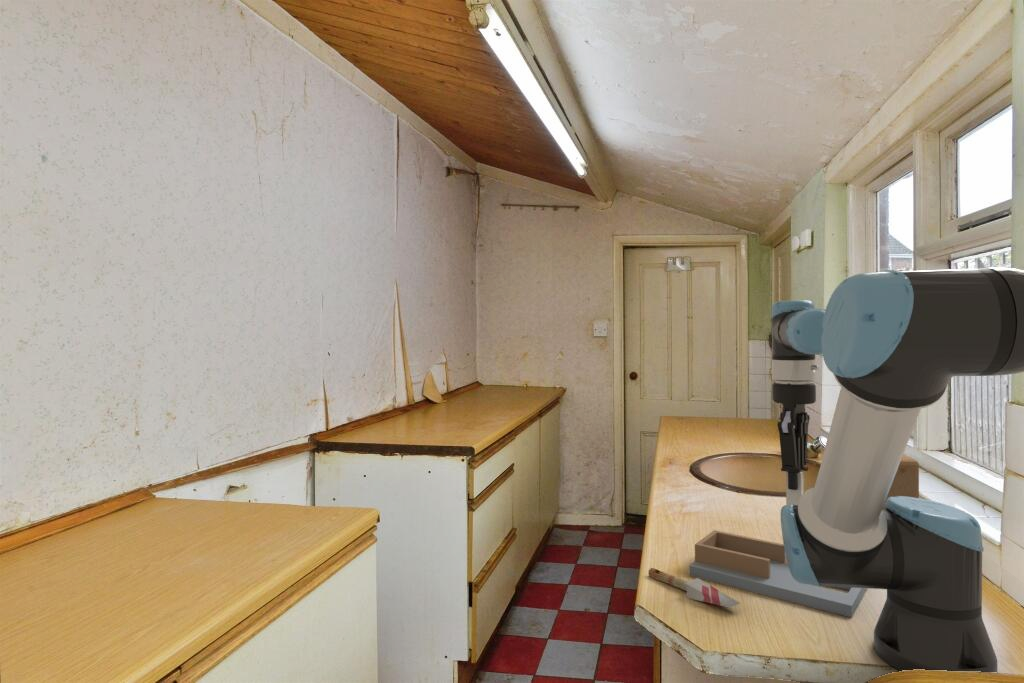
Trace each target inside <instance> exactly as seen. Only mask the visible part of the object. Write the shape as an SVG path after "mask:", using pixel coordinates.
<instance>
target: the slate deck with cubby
mask: <svg viewBox="0 0 1024 683" xmlns="http://www.w3.org/2000/svg"><path fill="white" fill-rule="evenodd" d="M689 576H691V577H695V578H699V579H701V580H702V579H703V580H707V581H709V582H714V583H717V584H722V585H725V586H729V587H730V586H731V587H733V588H737V589H741V590H746V591H748V592H753V593H757V594H761V595H764V596H768V597H771V598H775V599H778V600H779V599H780V600H784V601H788V602H790V603H795V604H798V605H803V606H807V607H809V608H814V609H818V610H822V611H825V612H830V613H832V614H837V615H841V616H846V617H848V618H853V616H854V615H855V612H856V611H857V609H858V607H859V605H860V604H861V602H862V600H863V598H864V596H865V594H866V592H867V590H868V588H851V587H836V588H837V589H842V590H846V591H848V592H847V593H846V592H842V591H838V590H834V589H830V588H826V587H823V586H822V587H819V586H817V585H810V584H802V583H799V582H797V581H796V580H795V579H794V578H793V577H792V575H791V573H790V570H789V567H788V563H787V559H786V554H785V549H784V543H779V542H774V541H769V540H765V539H759V538H756V537H755V538H754V537H751V536H750V537H749V536H744V535H739V534H735V533H732V532H731V533H729V532H726V531H725V532H724V531H720V530H716V529H715V530H713V531H711V532H710V533H709V534H707V535H705V536H704V537H703V538H702V539H700V540H699V541H698V542H696V543H694V561H693V562H692V563H691V564H690V565H689Z"/></svg>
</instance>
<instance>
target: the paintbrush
mask: <svg viewBox="0 0 1024 683" xmlns="http://www.w3.org/2000/svg"><path fill="white" fill-rule="evenodd" d="M647 574H648V577H651V578H653V579H657V580H658V581H660V582H663V583H665V584H668V585H670V586H673V587H675V588H679V589H681V590H683V591H686V594H685V598H688V599H690V600H695V601H698V602H699V601H700V602H704V603H706V604H707V603H709V604H711V605H717V606H720V607H721V606H722V607H725V608H726V607H727V608H733V607H736V606H738V605H740V604H741V602H739V601H738V600H736V599H735V598H733V597H731V596H729V594H726V593H724V592H722V591H721V590H719V589H717V588H716V587H715V586H712V585H710V584H709V583H708V582H706V581H705V580H702V578H698V577H695V579H694V578H693V579H691V580H690V581H688V580H686V579H684V578H680V577H678V576H675V575H672V574H670V573H668V572H664V571H661V570H659V569H656V568H655V567H650V568H649V569H648V573H647Z"/></svg>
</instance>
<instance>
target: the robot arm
mask: <svg viewBox="0 0 1024 683" xmlns="http://www.w3.org/2000/svg"><path fill="white" fill-rule="evenodd" d="M770 323H771V379H772V381H775V382H773V383H772V385H771V388H772V389H771V392H772V393H771V394H772V395H771V396H772V397H771V398H772V401H773V402H774V403H777V404H782V410H781V412H780V416H779V417H780V418H779V419H780V421H777V424H776V426H777V429H778V433H779V436H778V437H779V445H780V455H781V456H780V457H781V467H780V471H781V472H785V486H786V487H785V496H786V497H785V498H786V499H785V500H786V503H785V504H786V505H783V506H782V507H781V509H780V527H781V535H782V537H781V538H782V542H783V543H782V544H784V549H785V554H786V559H787V563H788V567H789V570H790V573H791V575H792V577H793V578H794V579H795V580H796V581H797V582H799V583H802V584H810V585H815V586H818V587H822V588H823V587H832V588H837V587H851V588H867V589H876V590H886V600H885V602H884V604H883V606H882V610H881V612H880V615H879V617H878V620H877V622H876V624H875V626H874V630H873V648H874V651H875V653H876V654H877V655H878V657H880V658H881V659H882V660H883V661H884V662H886V664H888V665H889V666H890V667H893V668H894V669H896V670H898V671H900V672H902V670H913V669H925V670H947V671H981V672H997V673H998V657H997V655H996V653H995V649H994V647H993V643H992V642H991V639H990V637H989V634H988V631H987V628H986V626H985V623H984V620H983V613H982V610H983V606H982V604H983V552H984V549H985V548H984V546H983V539H982V538H983V537H982V529H981V525H980V523H979V522H978V520H977V519H976V518H975V517H974V516H973V515H972V514H970V513H968V512H966V511H964V510H962V509H959V508H956V507H955V506H951V505H948V504H946V503H941V502H938V501H934V500H930V499H925V498H920V497H919V498H914V497H906V496H895V497H889V498H888V499H887V501H886V503H885V500H886V498H887V495H888V492H889V490H890V487H891V485H892V482H893V480H894V477H895V474H896V472H897V469H898V467H899V464H900V461H901V459H902V456H903V454H904V453H905V451H906V449H907V446H908V443H909V441H910V438H911V435H912V434H913V431H914V428H915V425H916V422H917V420H918V417H919V414H920V412H921V410H922V409H925V408H928V407H930V406H933V405H934V404H935V403H938V401H940V400H941V398H942V397H943V396H944V394H945V393H946V390H947V387H948V385H949V383H950V380H951V379H952V378H953V377H987V376H992V377H993V376H995V377H996V376H1006V375H1014V374H1020V373H1024V270H1022V269H1018V268H1012V267H1011V268H1010V267H1009V268H1008V267H995V266H994V267H983V268H958V269H956V268H955V269H934V270H933V269H932V270H907V271H905V270H904V271H900V270H897V269H884V270H880V271H878V272H877V271H876V272H864V273H857V274H853V275H852V276H849V277H847V278H845V279H843V280H842V281H841V282H840V283H839V284H838V285H837V286H836V288H834V290H833V292H832V294H831V295H830V298H829V300H828V302H827V305H826V307H825V309H821V308H816V307H815V303H814V302H813V301H812V300H804V299H803V300H802V299H801V300H782V301H775V302H773V304H772V306H771V317H770ZM816 355H822V358H823V360H824V364H825V366H826V367H827V369H828V370H829V371H830V372H831V373H832V375H833V377H834V379H835V380H836V382H837V383H838V385H839V386H840V391H839V394H838V398H837V402H836V406H835V410H834V413H833V417H832V421H831V425H830V428H829V431H828V435H827V440H826V442H825V446H824V450H823V453H822V458H821V462H820V466H819V469H818V473H817V476H816V481H815V483H814V484H815V485H814V486H813V485H812V487H810V488H808V489H807V490H805V491H804V471H805V472H808V471H809V466H807V463H808V461H807V458H808V456H807V454H808V437H809V434H808V433H809V424H810V420H811V419H810V418H811V417H810V414H808V412H806V406H805V405H811V404H814V403H815V402H816V401H817V389H816V388H817V386H816V384H815V383H813V381H815V380H816V371H818V370H819V369H820V368H819V364H816ZM904 455H905V454H904ZM884 503H885V507H886V508H883V505H884ZM882 508H883V509H882Z"/></svg>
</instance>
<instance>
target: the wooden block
mask: <svg viewBox="0 0 1024 683" xmlns="http://www.w3.org/2000/svg"><path fill="white" fill-rule="evenodd" d="M919 465H920V464H919V461H918V460H916V459H914V458H912V457H910V456H908V455H906V454H903V456H902V459H901V461H900V464H899V467H898V469H897V472H896V474H895V477H894V480H893V482H892V485H891V487H890V490H889V492H888V495H887V498H886V500H885V503H886V501H887V499H888V498H889V497H895V496H906V497H914V498H920V476H919V475H920V466H919ZM885 503H884V505H883V508H886V507H885ZM883 508H882V509H883Z"/></svg>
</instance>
